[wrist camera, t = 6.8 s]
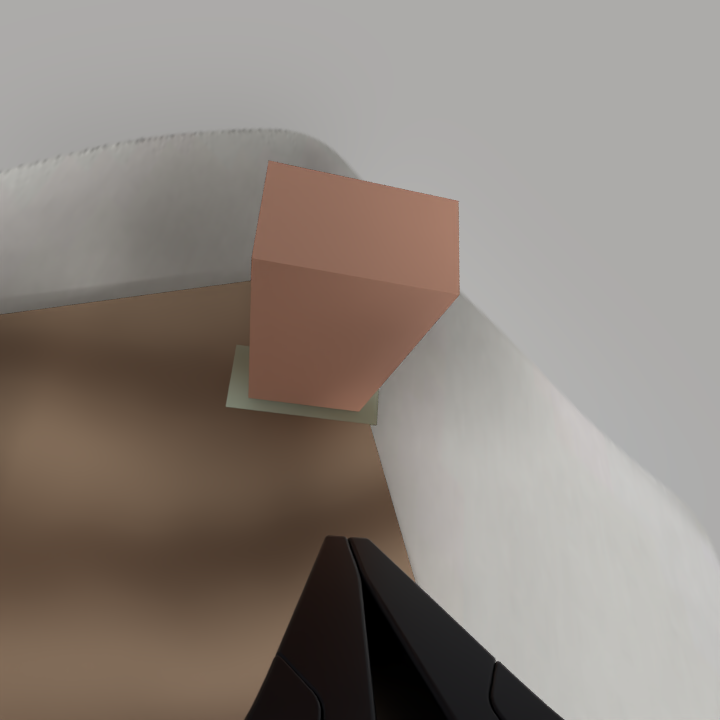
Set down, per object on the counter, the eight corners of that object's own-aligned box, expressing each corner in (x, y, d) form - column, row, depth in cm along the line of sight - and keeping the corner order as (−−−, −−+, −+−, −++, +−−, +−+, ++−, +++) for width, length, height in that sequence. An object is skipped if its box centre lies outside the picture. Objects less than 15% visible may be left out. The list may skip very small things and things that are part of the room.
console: (485, 736, 17) (549, 788, 14) (-574, 1247, 10) (-1056, 1661, 6) (346, 276, 23) (365, 225, 19) (-403, 381, 15) (-607, 330, 12)
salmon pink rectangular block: (359, 411, 19) (459, 294, 10) (248, 397, 19) (251, 258, 10) (362, 354, 20) (458, 201, 11) (257, 339, 20) (268, 160, 10)
